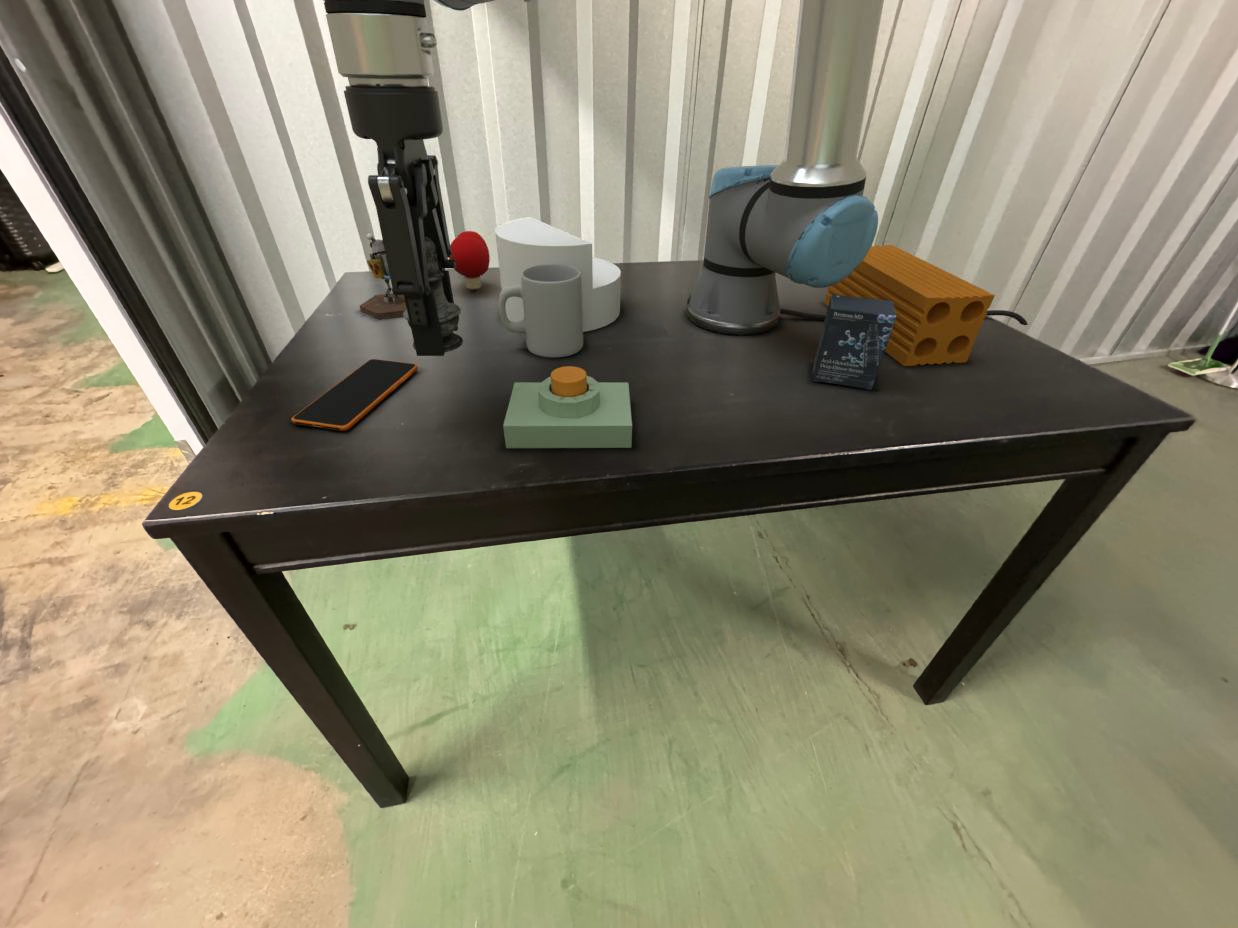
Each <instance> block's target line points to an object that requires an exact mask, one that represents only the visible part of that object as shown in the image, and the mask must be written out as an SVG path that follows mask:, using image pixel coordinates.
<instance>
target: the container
mask: <svg viewBox="0 0 1238 928" xmlns="http://www.w3.org/2000/svg"><path fill="white" fill-rule="evenodd" d="M494 233H495V243H496V253H497V260H498V269H499V279H500V286H501V291H502V290H503V289H504V288H506V287H508V286H512V285H517V284H521V273H522V272H523V271H524V270H525V269H527V268H529V267H533V266H537V265H545V264H560V265H567V266H571V267H574V268H577V269H578V270H579V271H580V273H581V286H582V323H583V333H584V332H590V331H595V330H597V329H600V328H604V327H606V326H608V325H610V324H613V323H614V322H615V321H616V320H617V319H618V318H619V316H620V313H621V280H622V279H621V278H622V276H621V273H622V271H621V269H620V268H619V266H617V265H616V264H614V263H612V262H611V261H608V260H605V259H602V258H598V257H594V256H593V243H592V242H590V241H587V240H585V239H583V238H580V237H578V236H576V235H573V234H571V233H569V232H566V231H564V230H562V229H559V228H558V227H556V226H553V225H550V224H548V223H545V222H543V221H541V220H539V219H537V218H534V217H532V216H526V217H520V218H515V219H511V220H508V221H505V222H503V223H501V224H499V225H497V227H495V229H494ZM505 310H506V315H507V317H508V319H509V320H510V321H512V322H519V321H522V320H523V319H524V306H523V299H522V298H520V297H510V298H508V299H507V301H506V304H505Z"/></svg>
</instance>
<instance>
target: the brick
mask: <svg viewBox="0 0 1238 928" xmlns="http://www.w3.org/2000/svg"><path fill="white" fill-rule="evenodd" d="M827 290H828V292H827V293H826V295H825V299H824V305H825V306H827V307H828V306H829V302H830V298H831V295H832V294H838V295H842V296H850V297H859V298H869V299H877V300H888V301H893V305H894V309H895V313H896V319H895V322H894V325H893V328H892V331H891V334H890V337H889V340H888V343H887V346H886V349H885V352H884V353H886V354H888V355H889V356H890V357H891V358H893V359H894V360H895V361H897V362H898V363H899V364H900V365H902V366H903V367H912V366H917V365H920V366H925V365H927V364H928V365H929V366H930V365H934V364H937V365H943V364H944V363H945V364H951V363H955V364H962V363H964V364H965V363H967V362H968V360H969V357H970V355H971V353H972V348H973V347H974V345H975V343H976V339H977V338H978V336H979V330H980V329H981V328H982V327H983V324H984V322H983V321H984V320H985V319H986V317H987V316H986V315H987V311H989V309H990V308H991V305H992V303H993V301H994V299H995V297H996V296H995V295H996V294H994V293H991V292H990V291H987V290H986V289H984V288H981V287H979V286H977V285H976V284H973V283H971V282H969V281H967V280H965V279H963V278H961V277H959V276H957V275H955V274H952V273H951V272H948V271H946V270H945V269H942V268H941V267H938V266H937V265H934V264H932V263H930V262H928V261H926V260H924V259H921V258H920V257H918V256H916V255H913V254H912V253H909V252H908V251H905V250H903V249H902V248H899V247H898V246H895V245H893V244H883V245H881V246H880V245H879V244H878V245H876V244H875V245H874V246H873V245H872V246H871V248H870V250H869V251H868V253H867V255H866V256H865V258H864V259H863V261H862V262H861V263H860V264H859V265H858V266H857V267H856V268H855V269H854V271H853V272H852V273H851V274H850V275H849V276H847V277H846V278H845V279H843V280H842V281H840V282H838V283H836V284H834V285H832V286H829V287H827Z"/></svg>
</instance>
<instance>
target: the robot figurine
mask: <svg viewBox="0 0 1238 928" xmlns="http://www.w3.org/2000/svg"><path fill="white" fill-rule="evenodd" d="M366 239H367V240H369V241H370V242H369V247H370V248H371V252H372V253H370V254H369V258H370V259H368V260H366V262H367V265H368V266H369V269H370V271H371V272H372V276H373V277H374V278H375V279H381V280H384V283H385V284H386V286H387V288H386V291H385V292H384V293H383V294H375V295H373V296H372V297H370V298H368V299H367V300H366V301H364V302H362V303H361V304H360V305H359V309H360V312H361V313H364V314H367V315H368V316H371V317H373V318H375V319H377V320H381V319H393V318H401V317H404V316H403V313H404V311H405V310H406V309H407V307H406V303H405V298H404V295H394V294H393V292H392V287H391V285H390V280H391V278H390V274H389V269H388V264H387V259H386V254H385V249H384V244H383V239H380V238H379V239H375V237H374V235H373V234H372V233H367V234H366ZM391 292H392V293H391Z"/></svg>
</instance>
